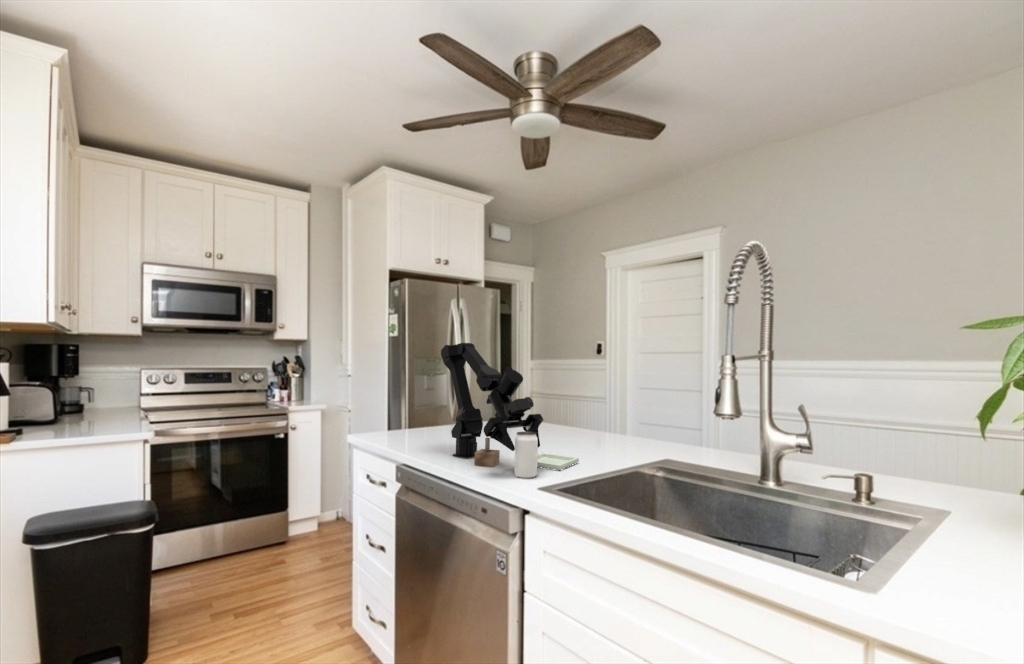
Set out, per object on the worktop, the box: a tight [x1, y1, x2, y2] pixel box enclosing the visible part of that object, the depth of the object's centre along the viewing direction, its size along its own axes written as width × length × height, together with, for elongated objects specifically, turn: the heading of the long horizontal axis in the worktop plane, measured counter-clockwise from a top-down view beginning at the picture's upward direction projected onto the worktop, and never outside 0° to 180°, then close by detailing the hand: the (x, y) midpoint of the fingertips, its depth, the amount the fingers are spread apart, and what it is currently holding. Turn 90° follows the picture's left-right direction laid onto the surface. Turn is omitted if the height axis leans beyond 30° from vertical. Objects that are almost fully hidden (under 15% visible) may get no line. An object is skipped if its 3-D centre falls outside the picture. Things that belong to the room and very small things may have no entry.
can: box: [514, 431, 539, 479], centre depth 138 cm, size 6×6×12 cm
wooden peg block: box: [474, 437, 501, 468], centre depth 152 cm, size 6×6×8 cm
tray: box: [537, 452, 580, 471], centre depth 153 cm, size 13×13×2 cm
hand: (526, 448), depth 138 cm, fingers open, 9 cm apart
